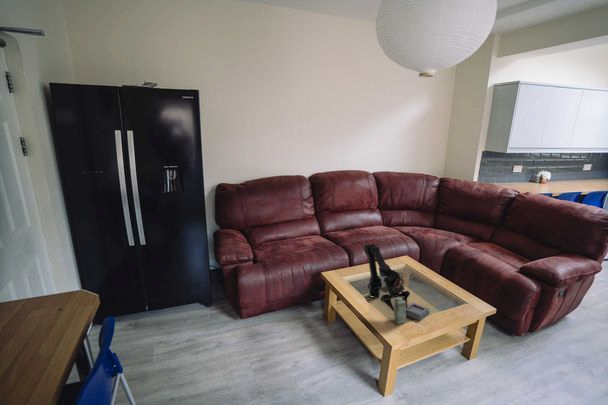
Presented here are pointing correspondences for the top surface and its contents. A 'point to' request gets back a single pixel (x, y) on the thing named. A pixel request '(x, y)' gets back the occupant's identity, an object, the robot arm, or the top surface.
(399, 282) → the mug
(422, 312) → the footing
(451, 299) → the top surface
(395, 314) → the pillar
